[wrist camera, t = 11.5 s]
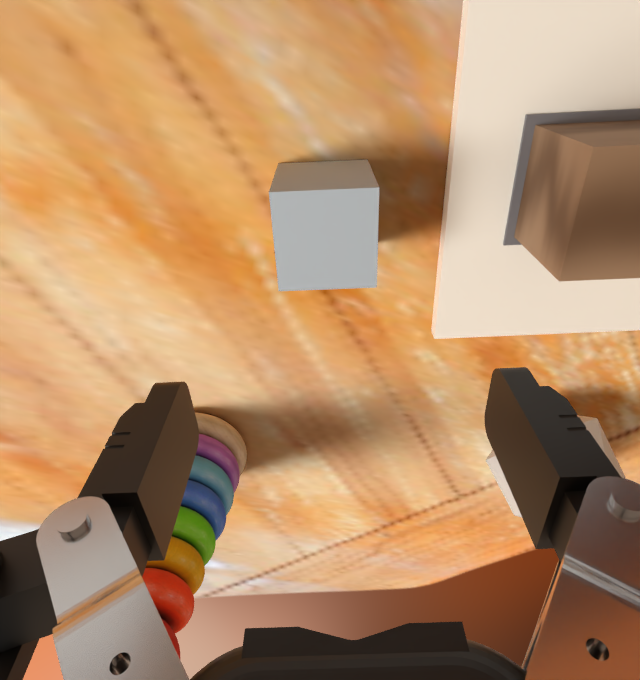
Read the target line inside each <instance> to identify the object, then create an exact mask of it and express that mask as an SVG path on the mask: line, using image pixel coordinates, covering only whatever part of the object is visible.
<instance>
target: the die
mask: <svg viewBox="0 0 640 680" xmlns="http://www.w3.org/2000/svg"><path fill="white" fill-rule="evenodd" d="M577 417H580V419H581V420H582V422H583V423H584V425H585V426H586V430H589V432H590V433H591V435H592V436H593V437H594V439H595V440H596V442H597V443H598V445H599V446H600V447H601V449H602V450H603V452H604V453H605V455H606V456H607V457H608V459H609V460H610V462H611V463H612V465H613V466H614V467H615V469H616V470H617V472H618V473H619V475H620V476H621V477H622V478H625V476H624V474H623V471H622V469H621V467H620V465H619V463H618V461H617V459H616V457H615V455H614V452H613V450H612V448H611V446H610V444H609V442H608V440H607V438H606V436H605V433H604V431H603V429H602V427H601V425H600V423H599V421H598V419H597V418H594V417H586V416H579V415H577ZM486 462H487V464H488V466H489V468H490V470H491V472H492V474H493V475H494V477H495V479H496V481H497V483H498V485H499V487H500V489H501V491H502V493H503V495H504V497H505V499H506V501H507V502H508V504H509V506H510V508H511V510H512V512H513V514H514V515H515V516H519V517H522V515H521V513H520V511H519V509H518V506H517V504H516V502H515V499H514V497H513V495H512V492H511V490H510V488H509V485H508V483H507V481H506V478H505V476H504V474H503V472H502V469H501V467H500V465H499V462H498V460H497V458H496V455H495V453H494V451H493V450H492V452H491V453H490V454H489V456H488V457H487V459H486Z"/></svg>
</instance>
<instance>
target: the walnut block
mask: <svg viewBox="0 0 640 680" xmlns="http://www.w3.org/2000/svg"><path fill="white" fill-rule="evenodd" d="M514 237H515V238H516V239H517V240H518V241H519V242H520V243H521V244H522V245H523V246H524V247H525V248H526V249H527V250H528V251H529V252H530V253H531V254H532V255H533V256H534V257H535V258H536V259H537V260H538V261H539V262H540V263H541V264H542V265H543V266H544V267H545V268H546V269H547V270H548V271H549V272H550V273H551V274H552V275H553V276H554V277H555V278H556V279H557V280H558V281H581V280H605V279H629V278H640V120H628V121H607V122H586V123H566V124H545V125H535V129H534V134H533V139H532V145H531V150H530V155H529V160H528V166H527V171H526V176H525V181H524V187H523V192H522V197H521V203H520V208H519V213H518V218H517V224H516V229H515V234H514Z"/></svg>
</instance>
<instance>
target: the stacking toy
mask: <svg viewBox="0 0 640 680" xmlns="http://www.w3.org/2000/svg"><path fill="white" fill-rule="evenodd" d="M195 416H196V419H197V423H198V429H199V442H198V448H197V452H196V455H195V459H194V462H193V465H192V469H191V472H190V475H189V479H188V482H187V486H186V489H185V492H184V496H183V499H182V502H181V506H180V509H179V513H178V516H177V519H176V523H175V526H174V530H173V533H172V536H171V540H170V543H169V546H168V550H167V553H166V557H165V560H163V561H147V564H146V567H145V571H144V574H143V577H142V578H143V580H144V582H145V584H146V587H147V589H148V591H149V593H150V595H151V597H152V600H153V602H154V604H155V606H156V608H157V611H158V613H159V615H160V617H161V619H162V621H163V624H164V626H165V628H166V630H167V632H168V635H169V637H170V639H171V641H172V643H173V645H174V648H175V650H176V652H177V654H178V656H179V658H180V649H179V644H178V641H177V638H176V636H175V633H177V632H178V631H180V630H181V629H182V628H183V627H185V625H186V624H187V623H188V621H189V620H190V618H191V616H192V613H193V609H194V597H193V594H194V593H195V592H196V591H197V590H198V589H199V587H200V586H201V584H202V581H203V578H204V574H205V569H204V566H205V565H206V564H207V563H208V561H209V560H210V558H211V557H212V555H213V553H214V549H215V541H216V540H217V539H218V537H219V536H220V535H221V533H222V532H223V529H224V526H225V523H226V515H227V514H228V512H229V511H230V509H231V506H232V503H233V497H234V492H235V490H236V488H237V486H238V483H239V477H240V475H241V473H242V472H243V470H244V468H245V465H246V461H247V450H246V446H245V443H244V440H243V439H242V437H241V435H240V434H239V432H238V431H237V430H236V429H235V428H234V427H233V426H231V425H230V424H229V423H227V422H226V421H224V420H222V419H220V418H218V417H215V416H212V415H209V414H204V413H195Z"/></svg>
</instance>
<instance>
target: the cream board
mask: <svg viewBox="0 0 640 680" xmlns="http://www.w3.org/2000/svg"><path fill="white" fill-rule="evenodd" d="M628 120H640V0H463V9H462V19H461V30H460V40H459V50H458V61H457V71H456V81H455V92H454V102H453V112H452V123H451V133H450V143H449V154H448V164H447V174H446V185H445V195H444V205H443V216H442V226H441V236H440V247H439V257H438V267H437V278H436V288H435V298H434V309H433V319H432V329H431V331H432V334H433V336H434V339H441V338H465V337H488V336H512V335H536V334H559V333H583V332H607V331H630V330H640V278H629V279H605V280H581V281H558V280H557V279H556V278H555V277H554V276H553V275H552V274H551V273H550V272H549V271H548V270H547V269H546V268H545V267H544V266H543V265H542V264H541V263H540V262H539V261H538V260H537V259H536V258H535V257H534V256H533V255H532V254H531V253H530V252H529V251H528V250H527V249H526V248H525V247H524V246H523V245H522V244H521V243H520V242H519V241H518V240H517V239H516V238H515V237H514V234H515V229H516V224H517V218H518V213H519V208H520V203H521V197H522V192H523V187H524V181H525V176H526V171H527V166H528V160H529V155H530V150H531V145H532V139H533V134H534V129H535V125H545V124H566V123H586V122H607V121H628Z"/></svg>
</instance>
